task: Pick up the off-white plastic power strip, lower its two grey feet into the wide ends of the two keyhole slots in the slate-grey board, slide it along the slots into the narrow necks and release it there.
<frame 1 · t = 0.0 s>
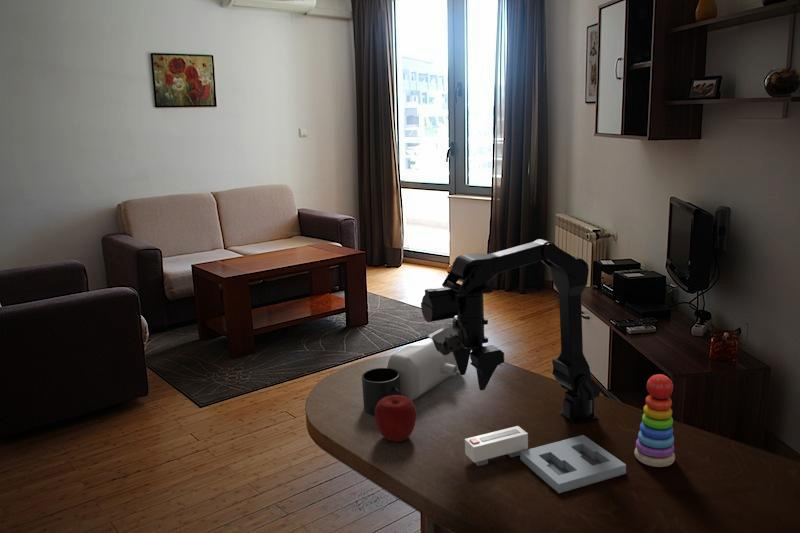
hand: (472, 382, 148), 15 cm above the table, fingers open, 9 cm apart
apple: (396, 438, 156), on the table
stacking toy: (654, 459, 142), on the table
tank: (430, 386, 183), on the table
power strip: (496, 457, 145), on the table
mug: (386, 410, 170), on the table
keyhole board: (571, 466, 140), on the table
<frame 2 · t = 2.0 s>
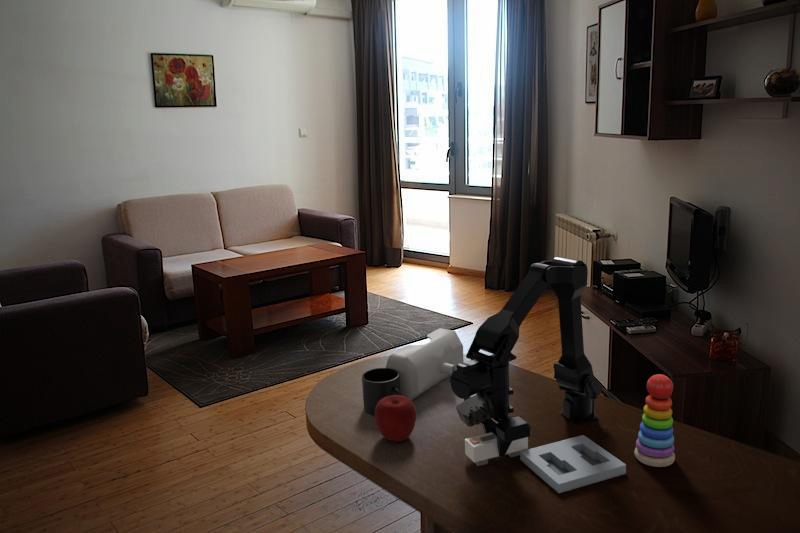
hand: (496, 451, 145), 2 cm above the table, fingers closed on power strip, 4 cm apart
power strip: (496, 457, 145), on the table, touching gripper
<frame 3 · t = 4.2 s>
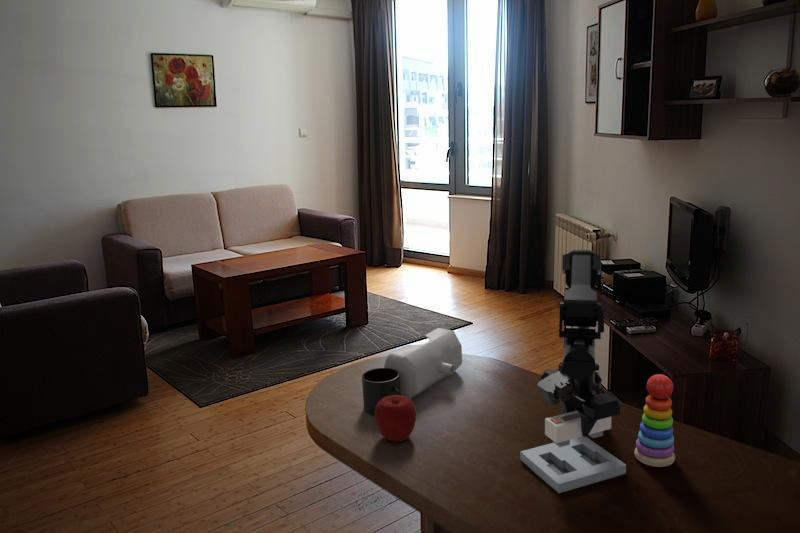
hand: (578, 431, 136), 9 cm above the table, fingers closed on power strip, 4 cm apart
power strip: (578, 438, 136), point 7 cm above the table, touching gripper
when the fingers open (2 cm above the table, at t = 6.4 s): power strip stays where it is, resting on keyhole board.
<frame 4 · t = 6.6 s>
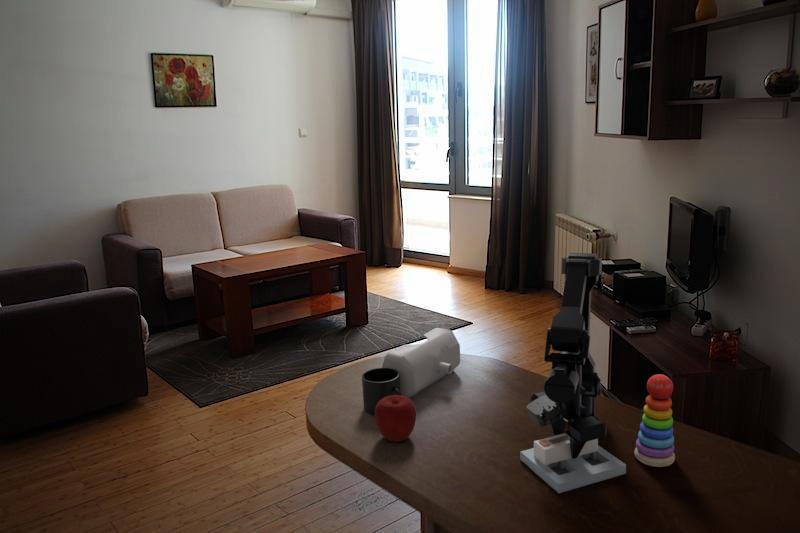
hand: (566, 451, 141), 2 cm above the table, fingers open, 5 cm apart
power strip: (565, 460, 142), resting on keyhole board
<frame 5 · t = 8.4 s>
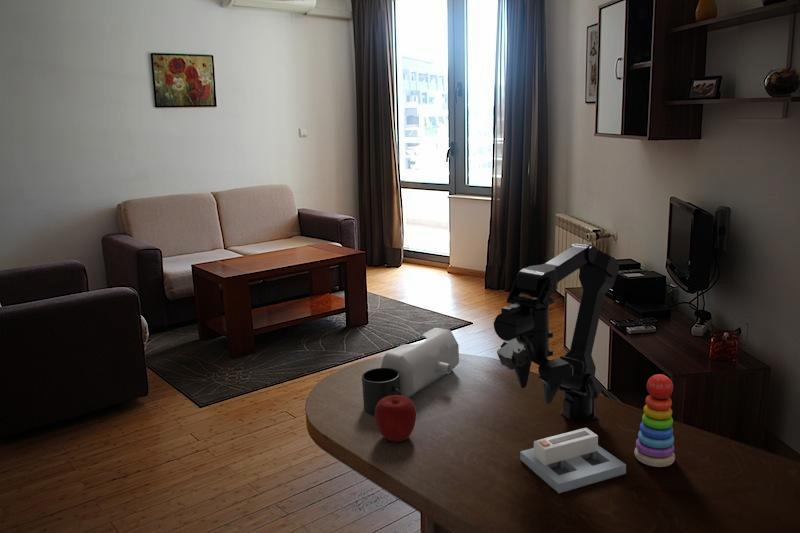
hand: (535, 395, 147), 12 cm above the table, fingers open, 9 cm apart
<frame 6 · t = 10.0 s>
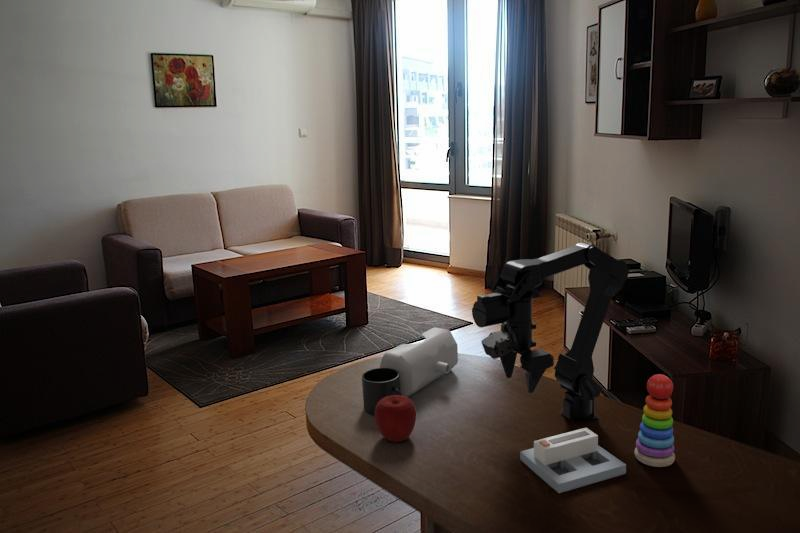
hand: (519, 385, 152), 12 cm above the table, fingers open, 9 cm apart
at the end: power strip 0.1 cm from the target spot on the keyhole board, point 0.4 cm above the keyhole board's base; power strip tilted 0°; the gripper is holding nothing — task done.
